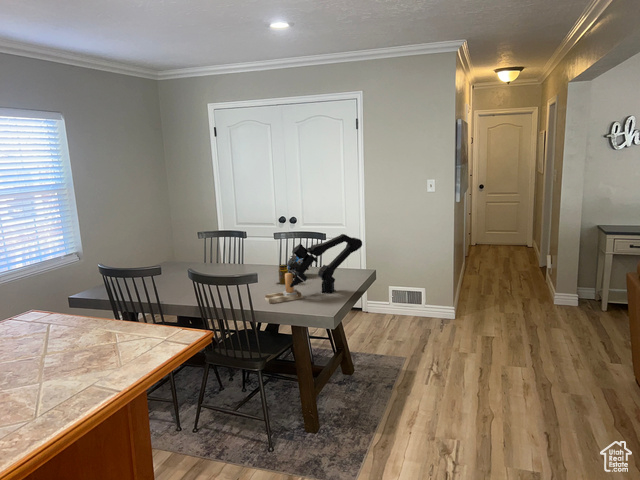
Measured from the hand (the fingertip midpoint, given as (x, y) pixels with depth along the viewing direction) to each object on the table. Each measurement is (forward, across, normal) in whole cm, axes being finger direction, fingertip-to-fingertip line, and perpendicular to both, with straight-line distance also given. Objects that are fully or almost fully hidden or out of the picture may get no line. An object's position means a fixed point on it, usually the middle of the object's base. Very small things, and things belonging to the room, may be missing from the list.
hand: (287, 285), depth 263 cm
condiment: (+1, -31, +10) cm, 33 cm away
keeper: (+4, 0, +5) cm, 6 cm away
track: (+7, 0, +3) cm, 8 cm away
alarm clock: (-8, -44, +19) cm, 48 cm away
